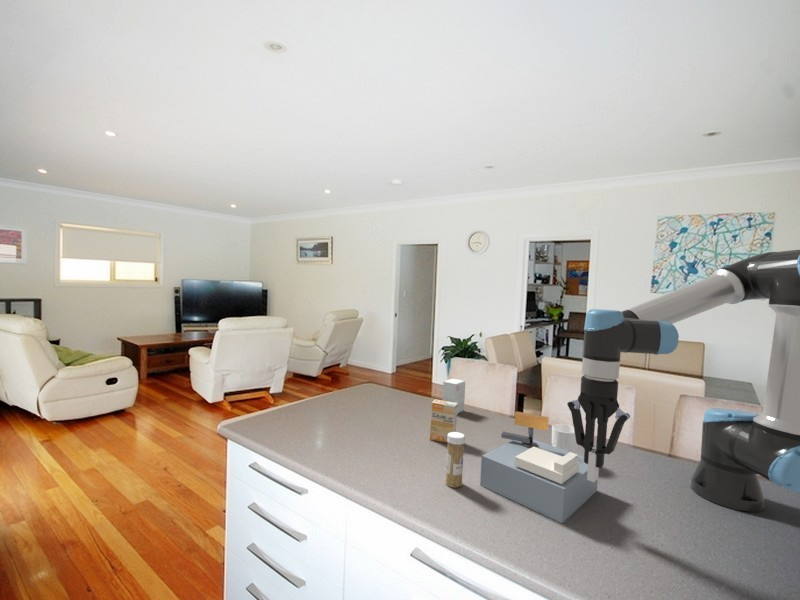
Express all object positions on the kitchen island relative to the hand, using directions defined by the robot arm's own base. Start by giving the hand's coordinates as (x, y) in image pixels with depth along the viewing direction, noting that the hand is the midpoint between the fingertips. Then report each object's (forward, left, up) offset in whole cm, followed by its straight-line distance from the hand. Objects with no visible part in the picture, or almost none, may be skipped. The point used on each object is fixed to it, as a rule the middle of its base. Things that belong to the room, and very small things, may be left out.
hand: (592, 479), depth 89 cm
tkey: (+23, -11, -1) cm, 25 cm away
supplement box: (+52, -10, -10) cm, 54 cm away
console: (+15, -5, -10) cm, 19 cm away
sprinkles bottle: (+31, +11, -10) cm, 34 cm away
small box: (+69, -38, -10) cm, 79 cm away
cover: (+11, 0, -2) cm, 11 cm away
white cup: (+18, -28, -10) cm, 35 cm away
